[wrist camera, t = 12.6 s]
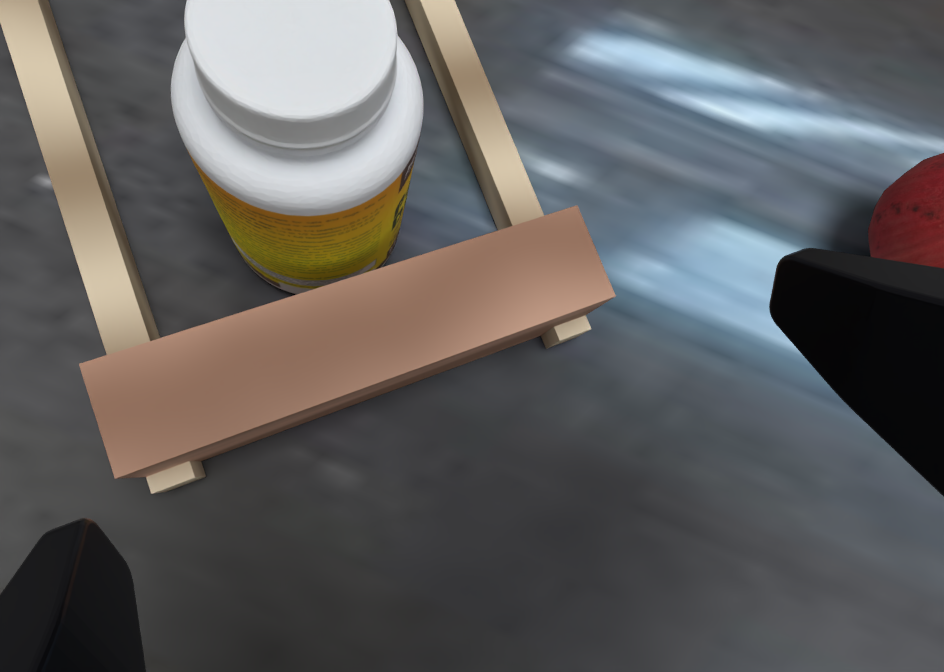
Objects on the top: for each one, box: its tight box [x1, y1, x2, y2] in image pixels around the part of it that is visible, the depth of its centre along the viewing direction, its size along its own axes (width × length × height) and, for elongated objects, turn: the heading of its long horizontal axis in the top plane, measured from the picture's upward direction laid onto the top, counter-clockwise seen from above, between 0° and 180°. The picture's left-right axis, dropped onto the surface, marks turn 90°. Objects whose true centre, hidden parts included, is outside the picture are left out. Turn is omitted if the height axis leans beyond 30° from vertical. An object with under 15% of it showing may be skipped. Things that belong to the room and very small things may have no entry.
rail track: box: [0, 0, 615, 494], centre depth 20 cm, size 18×14×4 cm
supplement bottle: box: [171, 0, 423, 294], centre depth 17 cm, size 6×6×10 cm
